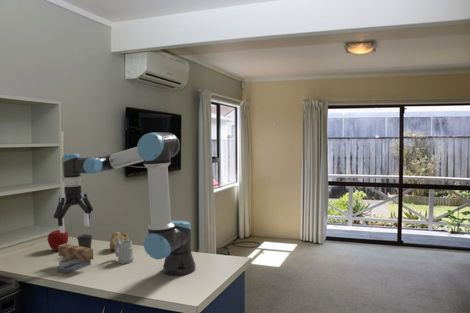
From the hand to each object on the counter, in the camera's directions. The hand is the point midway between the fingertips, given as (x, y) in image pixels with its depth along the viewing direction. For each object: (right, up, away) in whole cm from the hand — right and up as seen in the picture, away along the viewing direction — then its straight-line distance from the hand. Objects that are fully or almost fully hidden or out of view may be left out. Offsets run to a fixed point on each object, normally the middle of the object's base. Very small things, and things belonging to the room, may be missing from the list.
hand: (75, 229), depth 186 cm
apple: (-22, -18, +31) cm, 42 cm away
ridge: (0, -19, 0) cm, 19 cm away
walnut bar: (0, -14, +1) cm, 14 cm away
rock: (+13, -17, +30) cm, 37 cm away
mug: (+21, -18, +10) cm, 29 cm away
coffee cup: (-4, -18, +23) cm, 30 cm away
